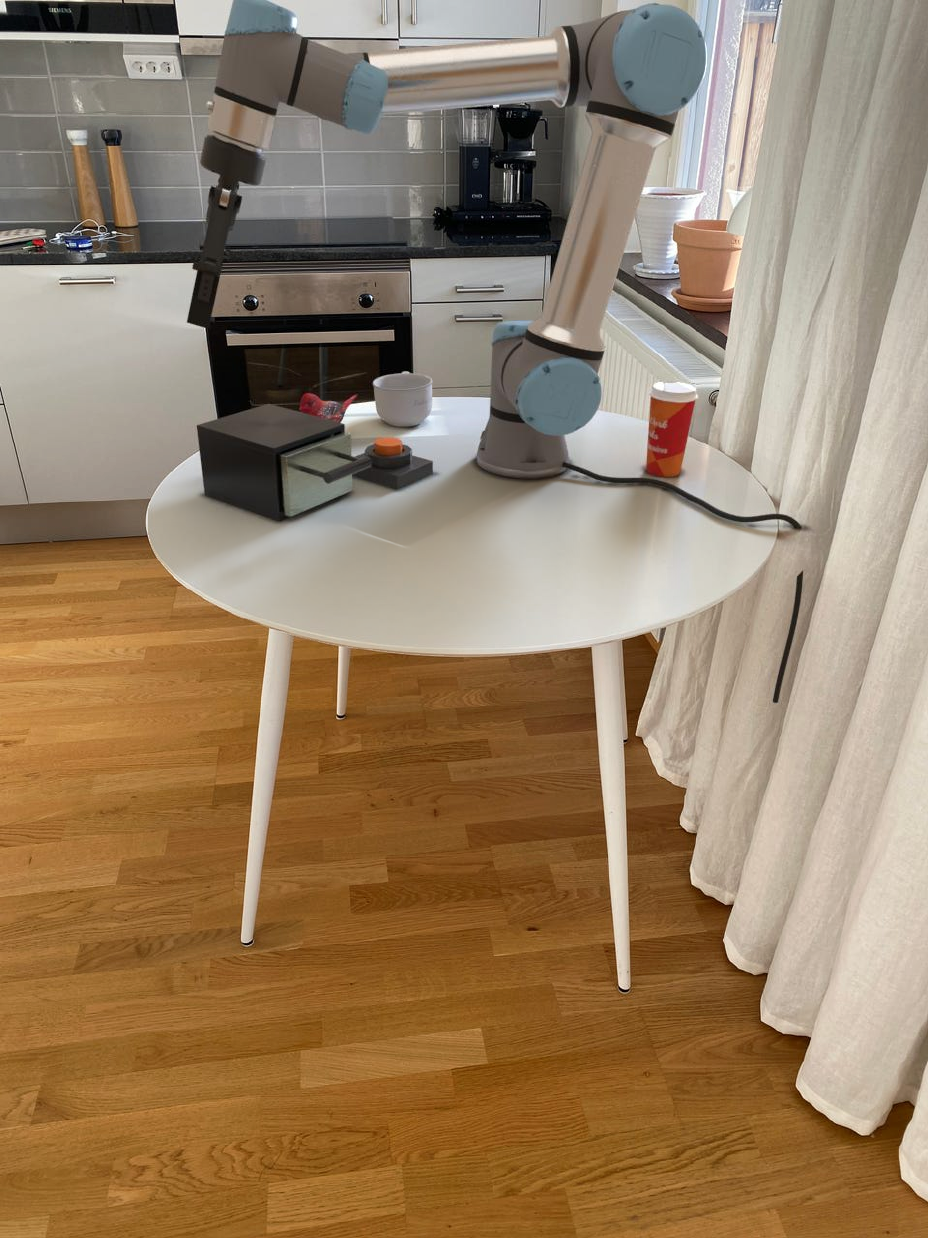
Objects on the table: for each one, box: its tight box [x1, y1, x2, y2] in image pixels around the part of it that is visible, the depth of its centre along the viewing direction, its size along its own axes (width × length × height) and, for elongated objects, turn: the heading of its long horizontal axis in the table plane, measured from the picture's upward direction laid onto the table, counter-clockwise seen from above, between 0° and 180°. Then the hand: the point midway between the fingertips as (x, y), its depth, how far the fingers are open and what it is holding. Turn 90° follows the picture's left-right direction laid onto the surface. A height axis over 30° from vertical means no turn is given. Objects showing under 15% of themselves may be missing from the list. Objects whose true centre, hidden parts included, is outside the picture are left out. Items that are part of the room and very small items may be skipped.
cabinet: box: [196, 403, 346, 522], centre depth 139 cm, size 16×14×11 cm
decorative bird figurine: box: [298, 392, 358, 423], centre depth 161 cm, size 3×18×10 cm, turn 154°
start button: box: [373, 436, 403, 455], centre depth 148 cm, size 4×4×2 cm
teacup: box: [372, 371, 433, 428], centre depth 174 cm, size 14×11×8 cm
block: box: [352, 443, 434, 490], centre depth 149 cm, size 11×9×4 cm
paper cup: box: [645, 381, 699, 478], centre depth 151 cm, size 8×8×14 cm
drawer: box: [279, 431, 372, 518], centre depth 136 cm, size 21×13×9 cm, turn 54°
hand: (200, 313), depth 123 cm, fingers open, 13 cm apart
